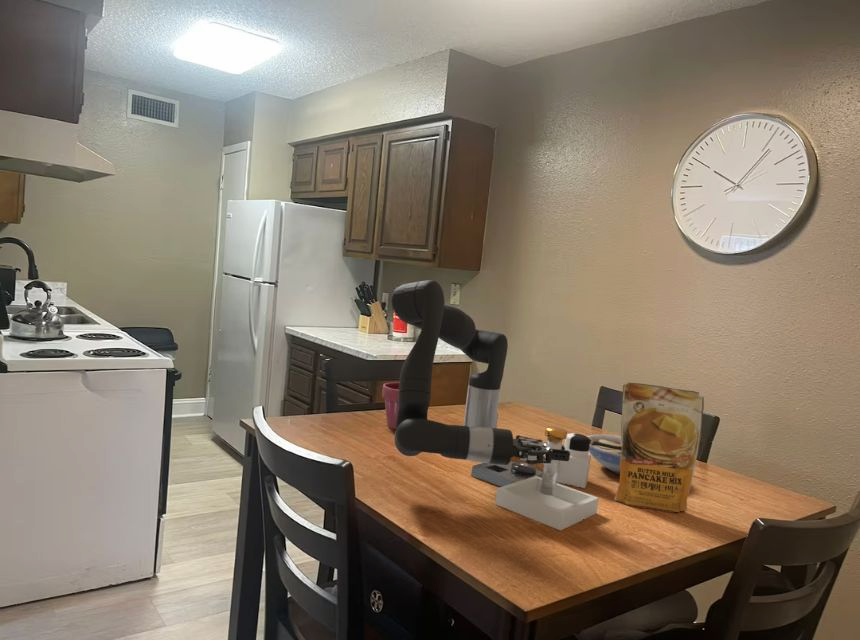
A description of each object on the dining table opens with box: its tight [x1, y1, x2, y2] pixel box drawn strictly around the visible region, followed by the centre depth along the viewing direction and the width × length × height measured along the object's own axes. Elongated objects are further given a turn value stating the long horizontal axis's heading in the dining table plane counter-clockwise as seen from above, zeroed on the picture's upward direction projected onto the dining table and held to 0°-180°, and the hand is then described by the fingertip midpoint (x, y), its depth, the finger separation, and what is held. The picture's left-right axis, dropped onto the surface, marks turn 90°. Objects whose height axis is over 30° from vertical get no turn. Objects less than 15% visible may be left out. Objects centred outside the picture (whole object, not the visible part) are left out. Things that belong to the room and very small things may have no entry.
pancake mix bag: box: [613, 382, 705, 514], centre depth 143 cm, size 7×19×28 cm, turn 81°
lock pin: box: [540, 426, 568, 495], centre depth 133 cm, size 5×5×14 cm
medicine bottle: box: [557, 432, 592, 489], centre depth 154 cm, size 7×7×12 cm
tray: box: [494, 476, 600, 531], centre depth 133 cm, size 16×16×4 cm
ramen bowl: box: [586, 434, 622, 475], centre depth 168 cm, size 25×23×8 cm
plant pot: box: [381, 381, 400, 430], centre depth 189 cm, size 14×14×13 cm
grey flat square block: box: [470, 460, 543, 488], centre depth 150 cm, size 13×13×4 cm
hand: (566, 453), depth 133 cm, fingers closed on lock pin, 3 cm apart
